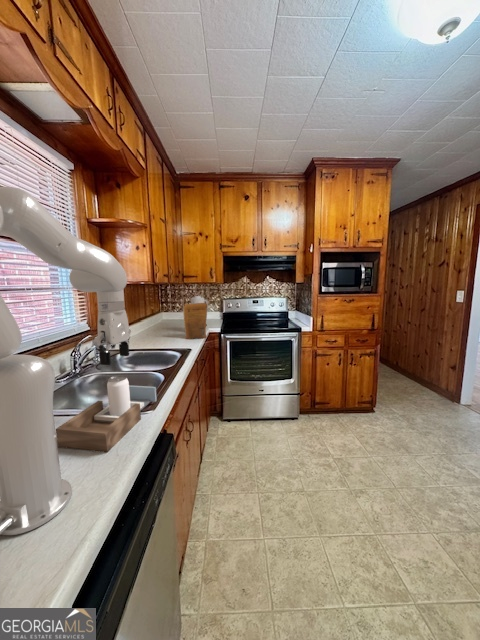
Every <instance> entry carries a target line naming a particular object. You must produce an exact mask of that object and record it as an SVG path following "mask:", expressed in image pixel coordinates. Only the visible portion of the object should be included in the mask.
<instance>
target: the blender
mask: <svg viewBox="0 0 480 640" xmlns="http://www.w3.org/2000/svg"><path fill="white" fill-rule="evenodd" d="M195 303H207V311H209V301H208V299H206V298H205V297H201V295H195V296H194V297H191V298H190V304H195ZM206 327H207V323H206Z"/></svg>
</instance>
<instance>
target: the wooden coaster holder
mask: <svg viewBox="0 0 480 640" xmlns="http://www.w3.org/2000/svg"><path fill="white" fill-rule="evenodd" d="M103 409H104V401H103V400H97V401H96V402H94V403H93V404H91V405H89V406H88V407H87V408H85V409H84V410H82V411H80V412H79V413H77V414H76V415H74V416H73V417H71V418H69V420H67V421H66V422H64V423H62V424H60V425H59V426H58V427H55V432H56V440H57V448H61V449H69V450H81V451H89V452H91V451H92V452H98V453H99V452H100V453H109V452H110V451H111V449H113V448H114V447H115V446H116V445H117V444H118V442H120V441H121V439H122V438H124V437H125V436H126V435H127V434H128V433H129V432H130V431H131V429H133V427H135V426H136V425H137V424H138V423H139V422H140V421H141V420H142V417H141V415H142V414H141V411H140V404H139V403H135V404H134V405H133V406H132V407H131V408H129V409H128V410H127V411H126V412H125V413H124V414H122V415H121V416H120V417H119V418H118V419H116V420H115V421H114V422H113V423H108V422H96V421H94V416H95V415H96V414H97V413H99V412H100V411H102V410H103Z"/></svg>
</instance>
